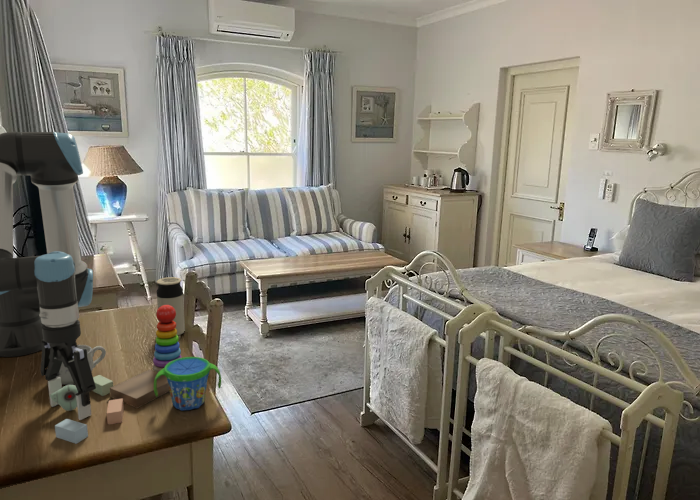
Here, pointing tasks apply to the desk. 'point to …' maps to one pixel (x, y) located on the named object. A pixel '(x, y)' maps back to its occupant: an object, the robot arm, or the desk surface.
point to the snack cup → (187, 381)
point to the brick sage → (102, 385)
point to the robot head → (66, 397)
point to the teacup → (65, 372)
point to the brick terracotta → (115, 411)
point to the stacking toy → (166, 338)
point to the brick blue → (71, 431)
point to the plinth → (140, 388)
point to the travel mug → (172, 299)
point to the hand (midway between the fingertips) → (70, 410)
